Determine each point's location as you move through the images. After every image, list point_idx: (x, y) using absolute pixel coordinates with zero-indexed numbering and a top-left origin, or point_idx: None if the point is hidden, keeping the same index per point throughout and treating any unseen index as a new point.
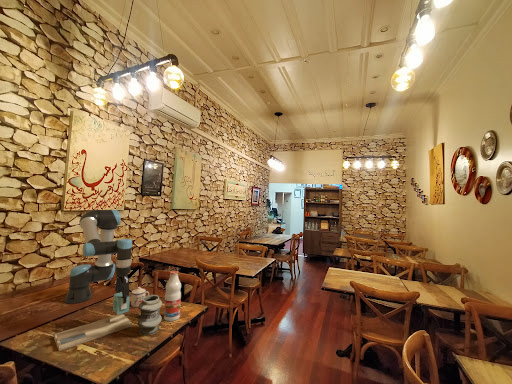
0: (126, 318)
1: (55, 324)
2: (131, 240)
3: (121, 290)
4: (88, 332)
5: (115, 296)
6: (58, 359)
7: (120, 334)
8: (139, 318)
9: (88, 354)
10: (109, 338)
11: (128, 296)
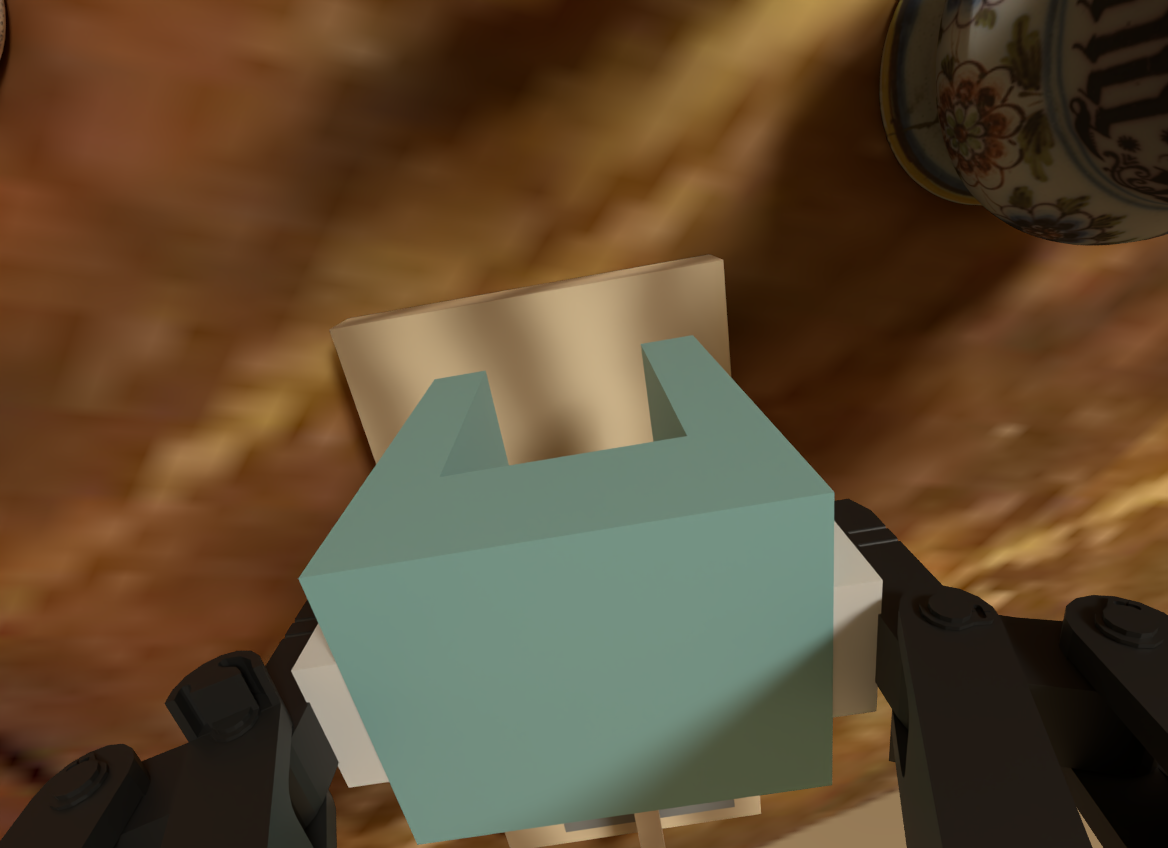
0: (540, 305)
1: None
2: None
3: (282, 750)
4: None
5: (572, 802)
6: (860, 774)
7: (821, 400)
8: (1093, 209)
9: None
10: None
11: (1121, 610)
